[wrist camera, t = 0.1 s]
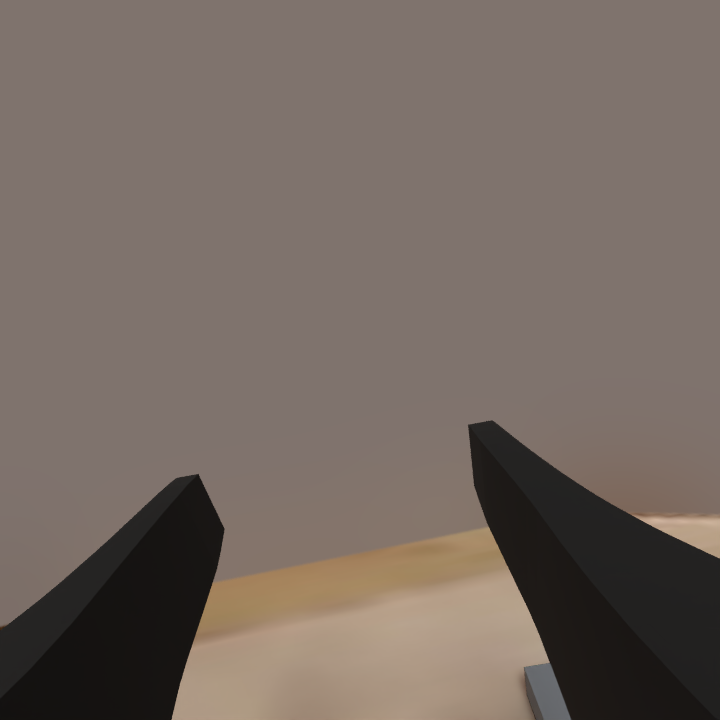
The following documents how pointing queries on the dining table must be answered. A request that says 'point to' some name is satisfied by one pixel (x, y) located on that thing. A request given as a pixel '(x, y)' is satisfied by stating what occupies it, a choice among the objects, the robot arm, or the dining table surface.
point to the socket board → (545, 693)
